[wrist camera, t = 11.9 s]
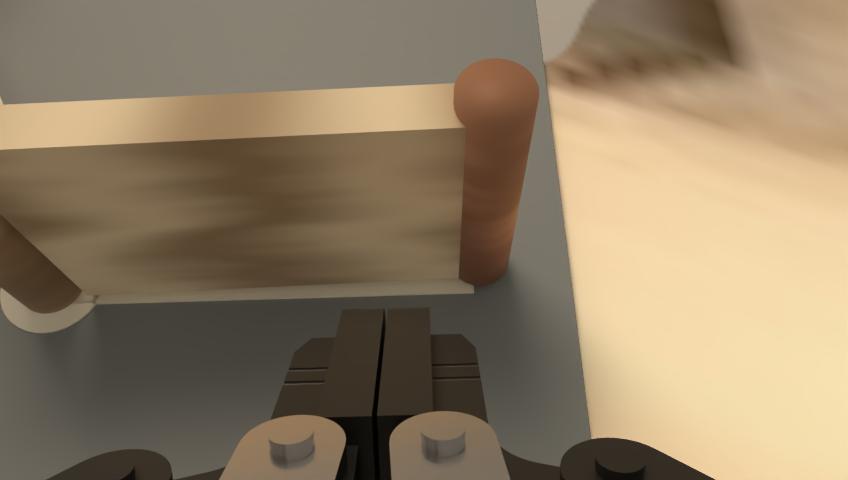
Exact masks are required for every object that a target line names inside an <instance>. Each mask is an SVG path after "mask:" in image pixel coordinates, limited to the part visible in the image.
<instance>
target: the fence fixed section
mask: <svg viewBox="0 0 848 480" xmlns="http://www.w3.org/2000/svg"><path fill="white" fill-rule="evenodd" d="M0 287H1V288H2V289H3V290H5V291H6V292H7V293H9V294H10V295H11V296H13V297H14V298H15V299H16V300H18V301H19V302H20V303H22V304H23V305H24V306H26V307H27V308H28V309H30V310H31V311H33V312H36V313H41V314H49V313H54V312H58V311H60V310H63V309H64V308H66V307H68V306H69V305H71V304H72V303H73V302H74V301H75V300H76V299H77V298H78V297H79V295H80V294H81V292H82V290H81V289H80V288H79V287H78V286H77V285H76V284H75V283H73V282H72V281H71V280H70V279H69V278H68V277H67V276H66V275H65V274H64V273H63V272H62V271H61V270H60V269H58V268H57V267H56V266H55V265H54V264H53V263H52V262H51V261H50V260H49V259H48V258H47V257H46V256H45V255H43V254H42V253H41V252H40V251H39V250H38V249H37V248H36V247H35V246H34V245H33V244H32V243H31V242H30V241H28V240H27V239H26V238H25V237H24V236H23V235H22V234H21V233H20V232H19V231H18V230H17V229H16V228H15V227H13V226H12V225H11V224H10V223H9V222H8V221H7V220H6V219H5V218H4V217H3V216H2V215H1V214H0Z"/></svg>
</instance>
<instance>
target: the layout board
mask: <svg viewBox="0 0 848 480" xmlns="http://www.w3.org/2000/svg"><path fill="white" fill-rule="evenodd" d="M491 58H500V59H506V60H510V61H514V62H516V63H518V64H520V65H522V66H524V67H525V68H526V69H528V70H529V71H530V72H531V73H532V75H533V76H534V77H535V79H536V81H537V83H538V86H539V101H538V106H537V112H536V117H535V123H534V128H533V133H532V139H531V144H530V149H529V155H528V160H527V166H526V171H525V176H524V182H523V187H522V193H521V198H520V203H519V209H518V214H517V220H516V225H515V230H514V236H513V241H512V246H511V252H510V257H509V263H508V267H507V270H506V272H505V273H504V275H503V276H502V277H501V278H500V279H499V280H497V281H496V282H494V283H492V284H489V285H484V286H476V285H471V284H468V283H466V282H464V281H462V280H461V279H459V278H443V279H422V280H402V281H381V282H360V283H339V284H318V285H298V286H277V287H256V288H235V289H214V290H194V291H173V292H152V293H131V294H111V295H90V296H87V295H86V294H85V293H84V292H83V291H82V292H81V294H80V295H79V297H78V298H77V299H76V300H75V301H74V302H73V303H72V304H71V305H69V306H68V307H66V308H64V309H63V310H60V311H58V312H54V313H49V314H41V313H36V312H33V311H31V310H30V309H28V308H27V307H26V306H24V305H23V304H22V303H20V302H19V301H18V300H16V299H15V298H14V297H13V296H11V295H10V294H9V293H7V292H6V291H5V290H3V289H2V288H1V287H0V480H46V479H48V478H50V477H52V476H54V475H56V474H58V473H60V472H62V471H64V470H66V469H68V468H70V467H72V466H74V465H76V464H78V463H80V462H82V461H85V460H87V459H89V458H92V457H94V456H97V455H100V454H104V453H108V452H112V451H117V450H125V449H143V450H150V451H154V452H157V453H159V454H161V455H163V456H164V457H165V458H166V459H167V460H168V461H169V463H170V465H171V469H172V475H173V480H175V479H179V478H184V477H188V476H192V475H197V474H201V473H206V472H210V471H213V470H217V469H220V468H223V467H226V466H227V464H228V462H229V460H230V458H231V457H232V455H233V453H234V451H235V449H236V447H237V446H238V444H239V442H240V441H241V439H242V438H243V437H244V436H245V435H246V434H247V433H248V432H249V431H250V430H252V429H253V428H255V427H257V426H258V425H260V424H262V423H265V422H267V421H270V419H271V417H272V414H273V411H274V408H275V405H276V403H277V400H278V397H279V394H280V391H281V389H282V386H283V385H284V380H285V377H286V375H287V372H288V371H289V366H290V363H291V361H292V358H293V355H294V352H295V351H296V350H298V349H299V348H300V347H301V346H303V345H304V344H305V343H306V342H307V341H309V340H310V339H311V338H328V337H336V333H337V329H338V325H339V321H340V317H341V313H342V310H343V309H379V308H384V309H385V314H386V321H387V312H388V308H412V307H430V335H436V334H462V335H463V336H464V337H465V338H466V339H467V340H468V341H469V342H471V343H472V344H473V345H474V346H475V347H476V352H477V358H478V366H479V371H480V379H481V383H482V389H483V395H484V401H485V407H486V413H487V419H488V425H490V426H491V427H492V429H493V430H494V431H495V433H496V435H497V439H498V442H499V445H500V446H501V447H502V448H503V449H505V450H506V451H508V452H510V453H511V454H513V455H515V456H518V457H520V458H523V459H526V460H529V461H532V462H537V463H542V464H547V465H553V466H558V467H560V463H561V459H562V457H563V455H564V454H565V452H566V451H567V450H568V449H570V448H571V447H573V446H574V445H576V444H578V443H580V442H583V441H587V440H591V434H590V426H589V418H588V410H587V403H586V395H585V387H584V379H583V371H582V363H581V355H580V347H579V339H578V332H577V324H576V316H575V308H574V300H573V292H572V284H571V276H570V268H569V261H568V253H567V245H566V237H565V229H564V221H563V213H562V205H561V197H560V189H559V182H558V174H557V166H556V158H555V150H554V142H553V134H552V126H551V118H550V111H549V103H548V95H547V87H546V79H545V71H544V63H543V55H542V48H541V40H540V32H539V24H538V17H537V9H536V0H0V105H7V104H28V103H49V102H70V101H91V100H112V99H133V98H154V97H175V96H196V95H217V94H238V93H259V92H280V91H301V90H322V89H343V88H364V87H385V86H406V85H427V84H448V83H455V82H456V79H457V77H458V76H459V74H460V73H461V72H462V71H463V70H464V69H465V68H466V67H468V66H469V65H471V64H473V63H475V62H477V61H480V60H484V59H491Z"/></svg>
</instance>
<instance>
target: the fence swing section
mask: <svg viewBox="0 0 848 480" xmlns="http://www.w3.org/2000/svg"><path fill="white" fill-rule="evenodd" d="M538 101H539V86H538V83H537V81H536V79H535V77H534V76H533V75H532V73H531V72H530V71H529V70H528V69H526V68H525V67H524V66H522V65H520V64H518V63H516V62H514V61H510V60H506V59H500V58H491V59H484V60H480V61H477V62H475V63H473V64H471V65H469V66H468V67H466V68H465V69H464V70H463V71H462V72H461V73H460V74H459V76H458V77H457V79H456V82H455V83H448V84H427V85H406V86H385V87H364V88H343V89H322V90H301V91H280V92H259V93H238V94H217V95H196V96H175V97H154V98H133V99H112V100H91V101H70V102H49V103H28V104H7V105H0V214H1V215H2V216H3V217H4V218H5V219H6V220H7V221H8V222H9V223H10V224H11V225H12V226H13V227H15V228H16V229H17V230H18V231H19V232H20V233H21V234H22V235H23V236H24V237H25V238H26V239H27V240H28V241H30V242H31V243H32V244H33V245H34V246H35V247H36V248H37V249H38V250H39V251H40V252H41V253H42V254H43V255H45V256H46V257H47V258H48V259H49V260H50V261H51V262H52V263H53V264H54V265H55V266H56V267H57V268H58V269H60V270H61V271H62V272H63V273H64V274H65V275H66V276H67V277H68V278H69V279H70V280H71V281H72V282H73V283H75V284H76V285H77V286H78V287H79V288H80V289H81V290H82V291H83V292H84V293H85V294H86V295H87V296H90V295H111V294H131V293H152V292H173V291H194V290H214V289H235V288H256V287H277V286H298V285H318V284H339V283H360V282H381V281H402V280H422V279H443V278H459V279H461V280H462V281H464V282H466V283H468V284H471V285H476V286H484V285H489V284H492V283H494V282H496V281H497V280H499V279H500V278H501V277H502V276H503V275H504V273H505V272H506V270H507V267H508V263H509V257H510V252H511V246H512V241H513V236H514V230H515V225H516V220H517V214H518V209H519V203H520V198H521V193H522V187H523V182H524V176H525V171H526V166H527V160H528V155H529V149H530V144H531V139H532V133H533V128H534V123H535V117H536V112H537V106H538Z"/></svg>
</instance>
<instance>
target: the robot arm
mask: <svg viewBox="0 0 848 480" xmlns="http://www.w3.org/2000/svg"><path fill="white" fill-rule="evenodd" d="M46 480H173V475H172V469H171V465H170V463H169V461H168V460H167V459H166V458H165V457H164V456H163V455H161V454H159V453H157V452H154V451H150V450H143V449H125V450H117V451H112V452H108V453H104V454H100V455H97V456H94V457H92V458H89V459H87V460H85V461H82V462H80V463H78V464H76V465H74V466H72V467H70V468H68V469H66V470H64V471H62V472H60V473H58V474H56V475H54V476H52V477H50V478H48V479H46ZM175 480H715V479H713V478H711V477H709V476H707V475H705V474H703V473H701V472H699V471H697V470H695V469H693V468H691V467H689V466H687V465H686V464H684V463H682V462H680V461H678V460H676V459H674V458H672V457H670V456H668V455H666V454H664V453H662V452H660V451H658V450H656V449H654V448H652V447H650V446H647V445H645V444H642V443H639V442H635V441H631V440H627V439H619V438H597V439H591V440H587V441H583V442H580V443H578V444H576V445H574V446H573V447H571V448H570V449H568V450H567V451H566V452H565V454H564V455H563V457H562V459H561V463H560V467H558V466H553V465H547V464H542V463H537V462H532V461H529V460H526V459H523V458H520V457H518V456H515V455H513V454H511V453H510V452H508V451H506V450H505V449H503V448H502V447H501V446H500V445H499V442H498V439H497V435H496V433H495V431H494V430H493V429H492V427H491V426H490V425H488V419H487V413H486V407H485V401H484V395H483V389H482V383H481V379H480V371H479V366H478V358H477V352H476V347H475V346H474V345H473V344H472V343H471V342H469V341H468V340H467V339H466V338H465V337H464V336H463V335H462V334H436V335H430V307H412V308H388V312H387V321H386V314H385V309H384V308H379V309H343V310H342V313H341V317H340V321H339V325H338V329H337V333H336V337H328V338H311V339H310V340H309V341H307V342H306V343H305V344H304V345H303V346H301V347H300V348H299V349H298V350H296V351H295V352H294V355H293V358H292V361H291V363H290V366H289V371H288V372H287V375H286V377H285V380H284V385H283V386H282V389H281V391H280V394H279V397H278V400H277V403H276V405H275V408H274V411H273V414H272V417H271V419H270V421H267V422H265V423H262V424H260V425H258V426H257V427H255V428H253V429H252V430H250V431H249V432H248V433H247V434H246V435H245V436H244V437H243V438H242V439H241V441H240V442H239V444H238V446H237V447H236V449H235V451H234V453H233V455H232V457H231V458H230V460H229V462H228V464H227V466H226V467H223V468H220V469H217V470H213V471H210V472H206V473H201V474H197V475H192V476H188V477H184V478H179V479H175Z"/></svg>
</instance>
